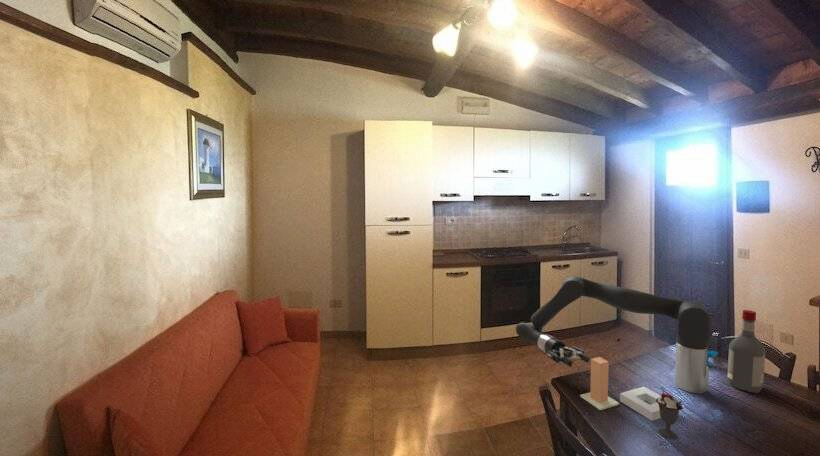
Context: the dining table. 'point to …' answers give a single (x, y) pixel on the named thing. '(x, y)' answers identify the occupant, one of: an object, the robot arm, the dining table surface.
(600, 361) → the peg
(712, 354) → the gear
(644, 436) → the dining table surface
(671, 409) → the sundae
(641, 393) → the socket block
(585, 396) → the pad
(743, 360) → the liquor
